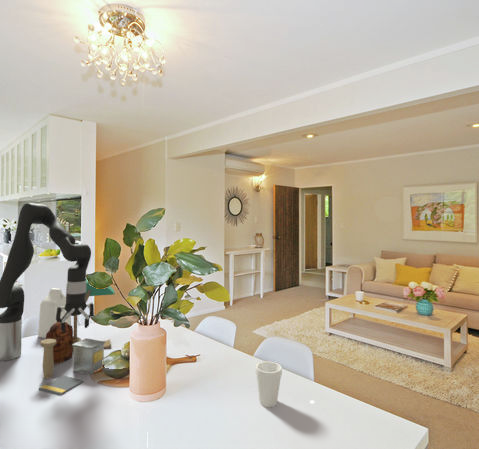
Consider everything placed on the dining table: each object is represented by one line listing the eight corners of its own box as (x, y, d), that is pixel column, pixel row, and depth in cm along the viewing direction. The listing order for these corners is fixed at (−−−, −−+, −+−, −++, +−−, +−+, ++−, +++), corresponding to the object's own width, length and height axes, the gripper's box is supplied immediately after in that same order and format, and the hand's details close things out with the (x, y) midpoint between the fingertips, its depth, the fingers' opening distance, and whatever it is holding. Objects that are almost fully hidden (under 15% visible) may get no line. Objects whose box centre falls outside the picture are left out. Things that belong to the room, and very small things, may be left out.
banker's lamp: (69, 345, 168) (70, 278, 168) (112, 339, 177) (113, 275, 177) (67, 356, 154) (68, 283, 154) (114, 350, 163) (115, 280, 162)
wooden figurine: (54, 366, 143) (55, 326, 143) (43, 364, 145) (44, 324, 145) (76, 356, 155) (76, 318, 154) (65, 354, 157) (66, 317, 156)
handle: (47, 381, 130) (47, 344, 130) (37, 377, 133) (37, 341, 133) (58, 376, 135) (59, 340, 134) (48, 373, 137) (49, 337, 137)
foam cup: (259, 411, 112) (260, 374, 112) (251, 397, 121) (252, 362, 121) (285, 407, 115) (285, 371, 115) (275, 394, 124) (276, 360, 124)
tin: (71, 371, 139) (72, 344, 139) (85, 363, 147) (86, 338, 147) (91, 375, 136) (91, 348, 136) (104, 367, 143) (105, 341, 143)
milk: (37, 336, 179) (38, 290, 179) (55, 330, 190) (55, 286, 190) (55, 339, 176) (55, 291, 175) (71, 332, 187) (72, 287, 186)
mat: (39, 389, 124) (39, 387, 124) (63, 376, 134) (63, 375, 134) (60, 395, 120) (60, 393, 120) (83, 381, 131) (84, 379, 131)
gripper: (92, 287, 144) (90, 323, 145) (55, 291, 136) (54, 329, 136) (96, 291, 138) (94, 329, 138) (58, 295, 130) (57, 335, 130)
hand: (74, 329), depth 137 cm, fingers open, 8 cm apart
